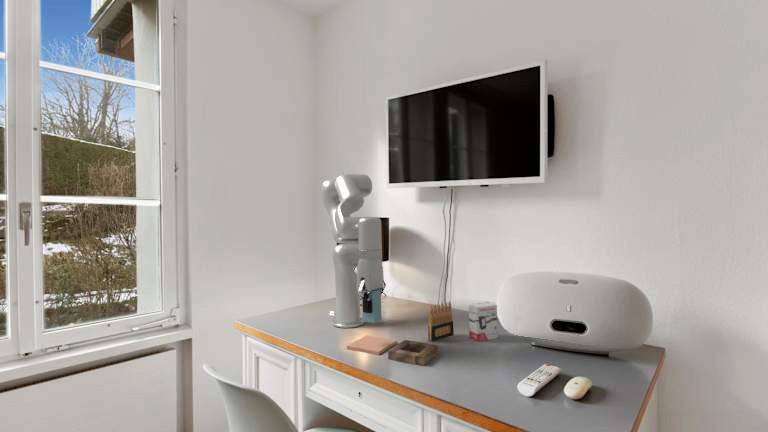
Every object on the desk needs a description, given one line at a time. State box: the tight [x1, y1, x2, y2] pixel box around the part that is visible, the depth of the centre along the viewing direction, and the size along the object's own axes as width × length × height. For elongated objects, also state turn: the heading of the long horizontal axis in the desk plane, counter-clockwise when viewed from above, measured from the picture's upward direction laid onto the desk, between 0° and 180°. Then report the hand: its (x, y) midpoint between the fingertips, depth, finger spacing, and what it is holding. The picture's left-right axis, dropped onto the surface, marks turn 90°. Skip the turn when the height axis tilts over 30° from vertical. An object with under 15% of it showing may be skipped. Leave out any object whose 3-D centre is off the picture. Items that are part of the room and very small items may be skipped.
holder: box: [387, 339, 439, 367], centre depth 121 cm, size 12×12×2 cm
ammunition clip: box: [427, 301, 455, 342], centre depth 138 cm, size 11×2×12 cm, turn 127°
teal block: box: [361, 289, 382, 324], centre depth 130 cm, size 4×4×10 cm
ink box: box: [468, 301, 498, 343], centre depth 137 cm, size 8×5×12 cm, turn 115°
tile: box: [346, 335, 398, 356], centre depth 131 cm, size 12×12×1 cm
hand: (371, 310), depth 130 cm, fingers closed on teal block, 4 cm apart
